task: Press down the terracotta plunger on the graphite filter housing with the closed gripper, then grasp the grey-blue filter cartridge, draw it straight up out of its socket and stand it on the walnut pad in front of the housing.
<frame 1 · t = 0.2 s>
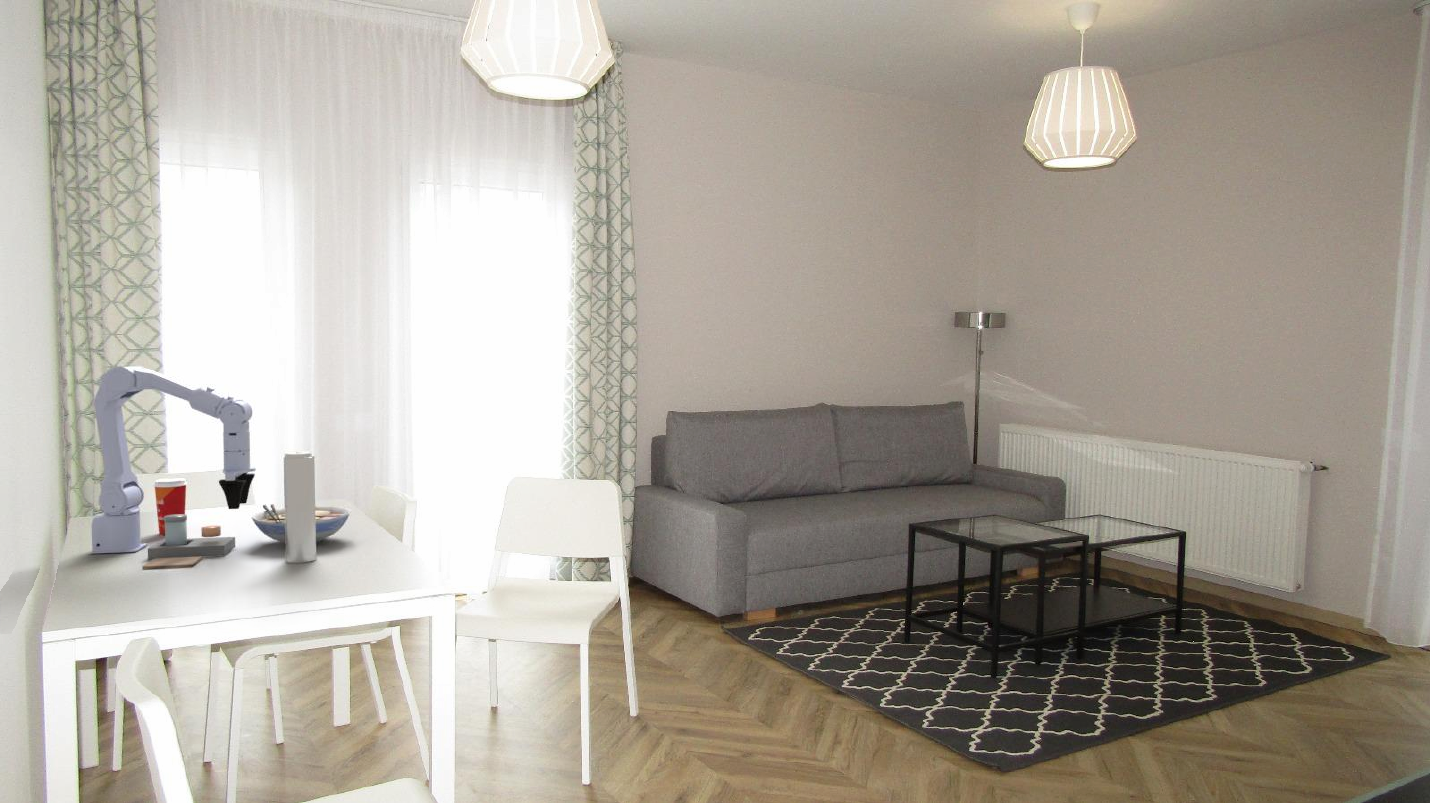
hand: (237, 506, 227), 10 cm above the table, fingers open, 7 cm apart
filter cartridge: (176, 553, 220), resting in filter housing
walnut pad: (173, 563, 210), on the table
air filter: (301, 560, 214), on the table
plunger: (211, 531, 221), point 5 cm above the table, slide at 0.0 cm
filter housing: (193, 552, 220), on the table
ramen bowl: (303, 543, 233), on the table
paper cup: (171, 533, 243), on the table
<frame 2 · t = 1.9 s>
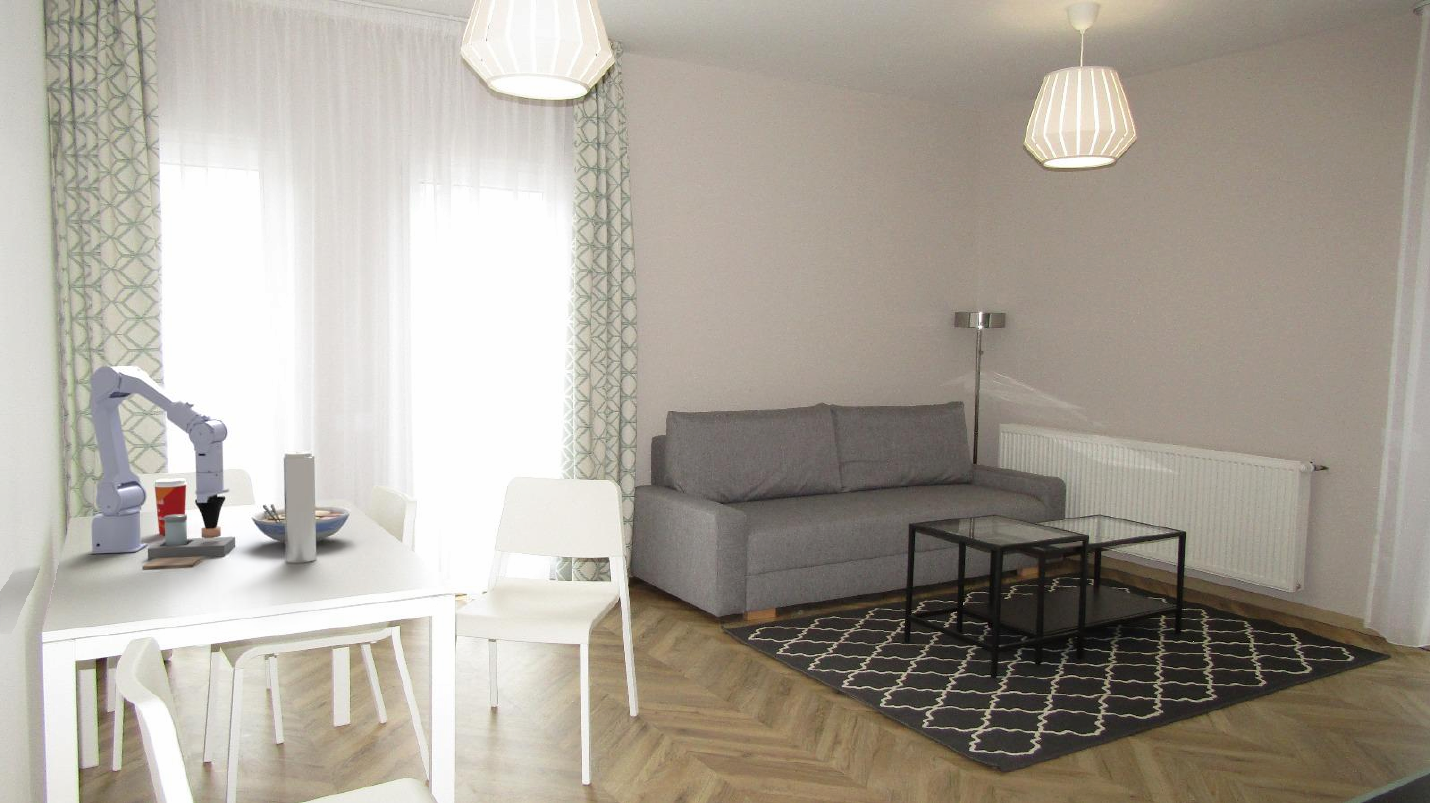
hand: (211, 528, 221), 6 cm above the table, fingers closed, pressing on plunger
plunger: (211, 531, 221), point 5 cm above the table, slide at 0.2 cm, touching gripper
everything else where it was.
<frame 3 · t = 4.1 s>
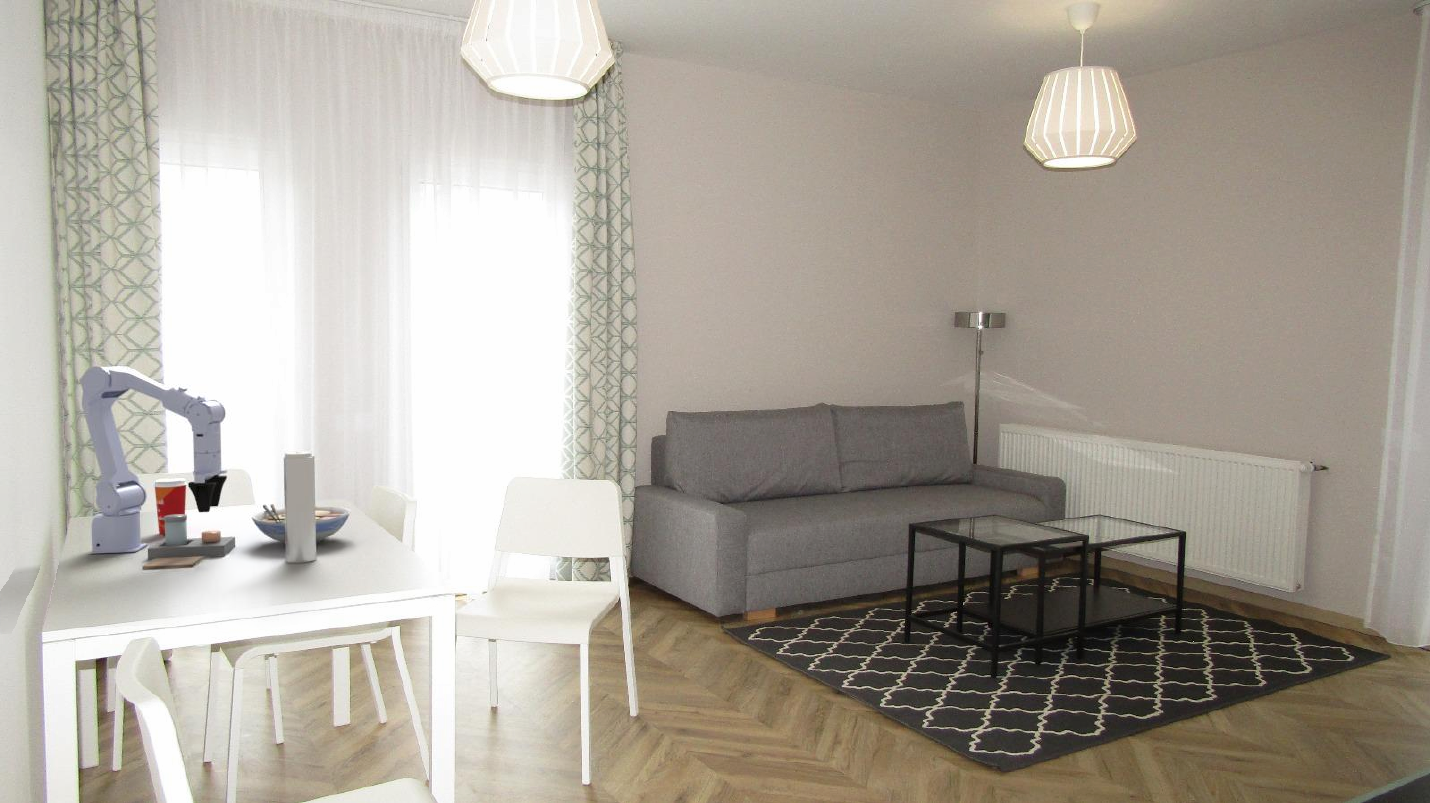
hand: (208, 509, 221), 10 cm above the table, fingers open, 7 cm apart
plunger: (211, 536, 221), point 4 cm above the table, slide at 1.2 cm
everything else where it was.
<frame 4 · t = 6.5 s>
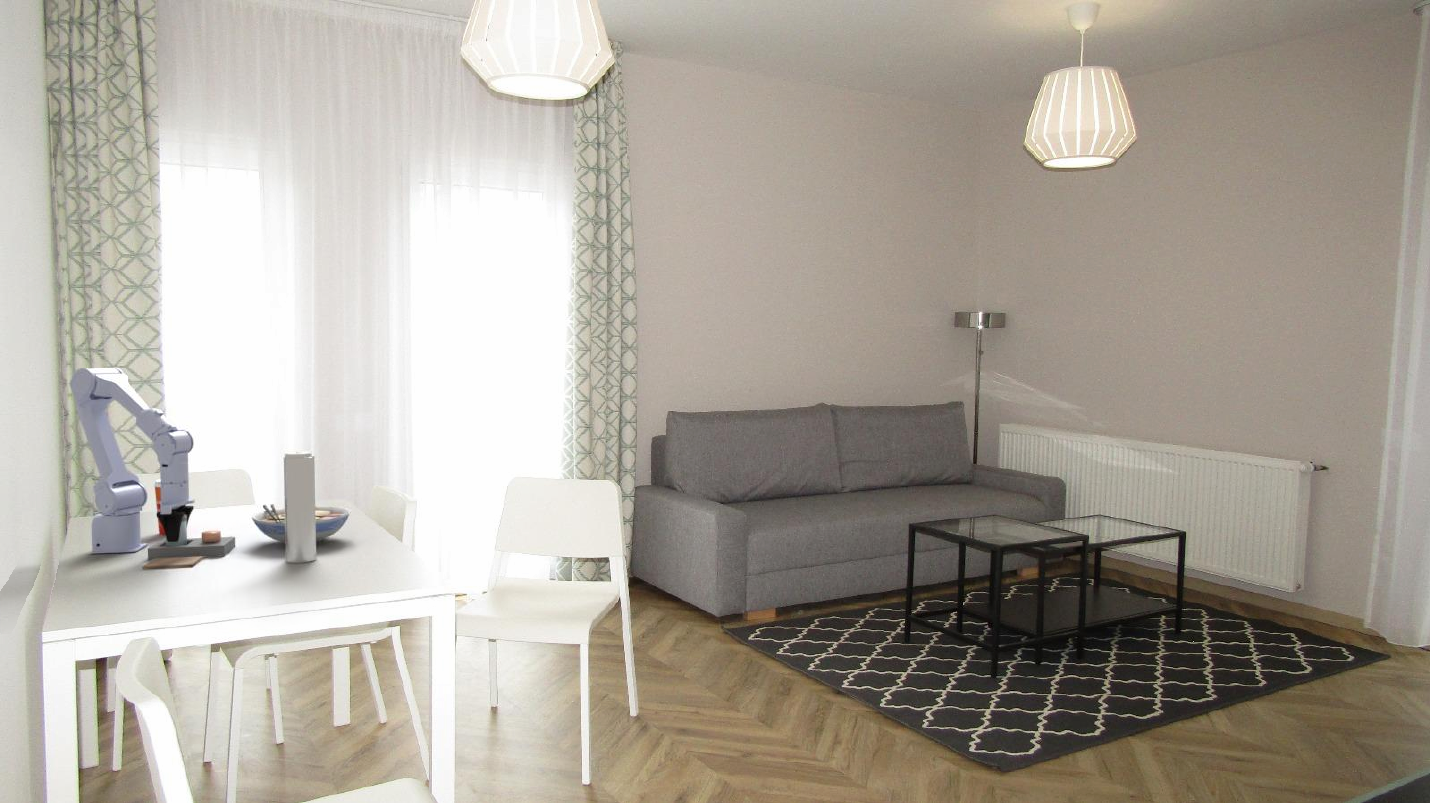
hand: (176, 539, 219), 3 cm above the table, fingers closed on filter cartridge, 4 cm apart
filter cartridge: (176, 553, 220), resting in filter housing, touching gripper
everything else where it was.
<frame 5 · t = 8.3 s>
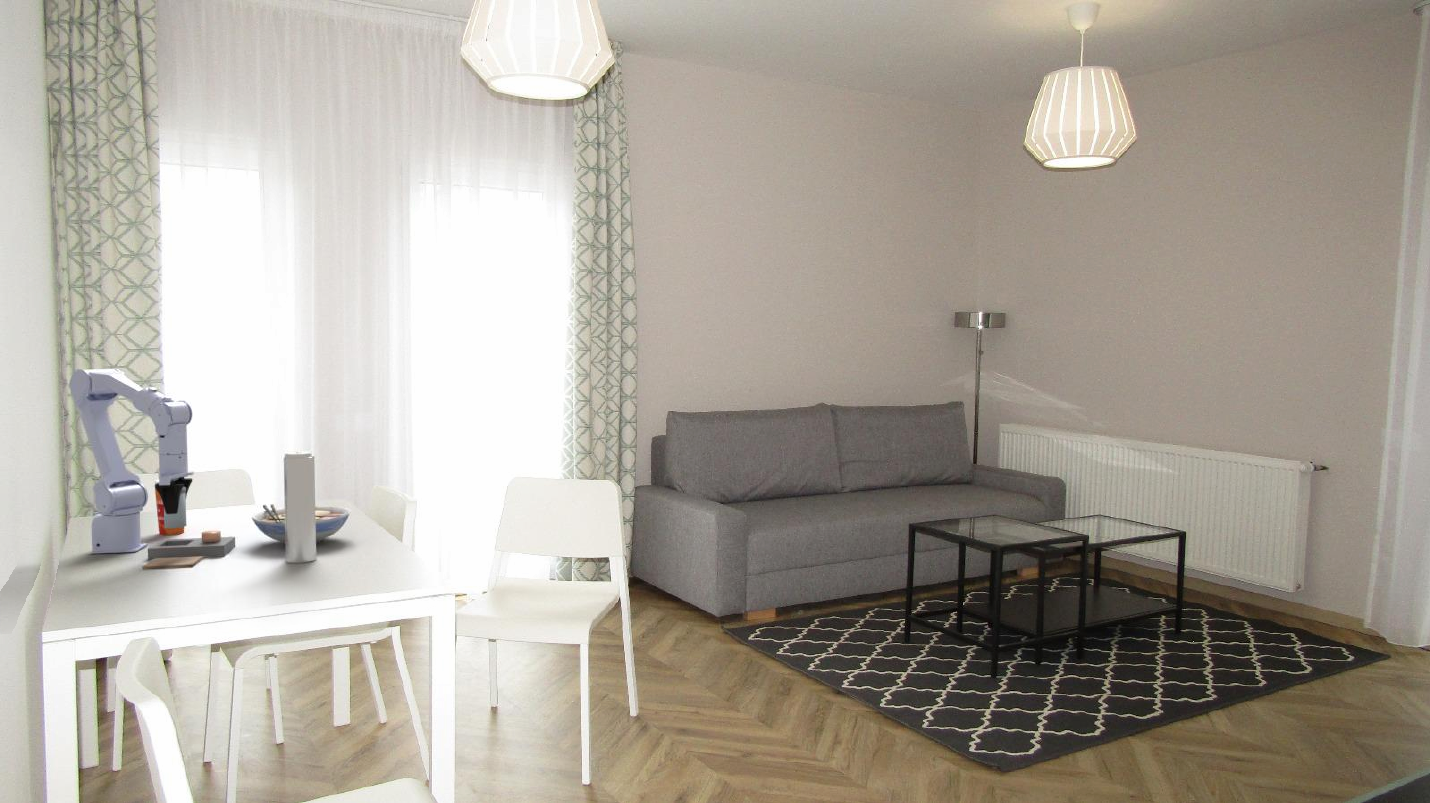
hand: (175, 511, 216), 10 cm above the table, fingers closed on filter cartridge, 4 cm apart
filter cartridge: (175, 526, 216), point 7 cm above the table, touching gripper
everything else where it was.
when the fingers open (5 cm above the table, at t = 10.6 s): filter cartridge stays where it is, resting on walnut pad.
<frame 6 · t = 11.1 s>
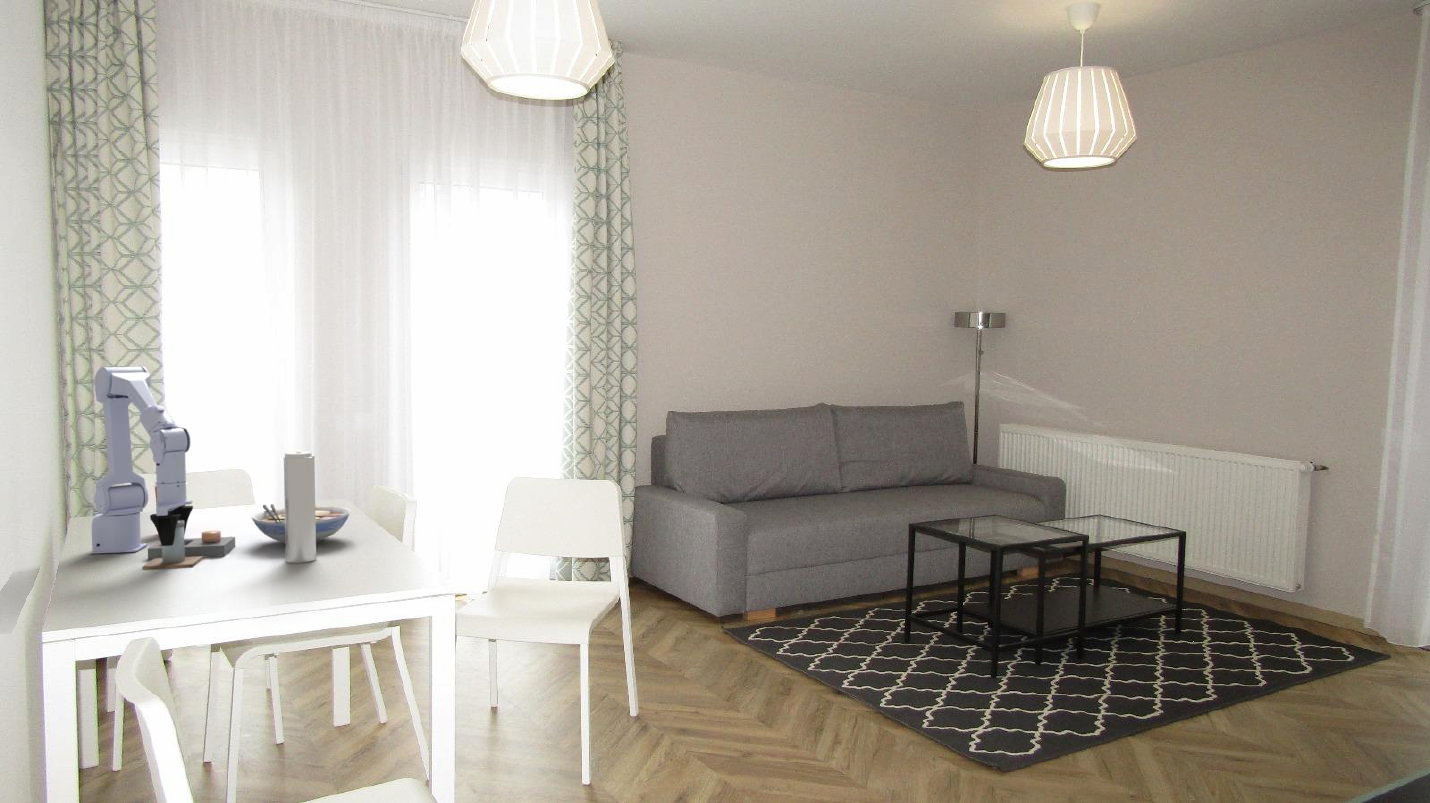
hand: (172, 541, 209), 5 cm above the table, fingers open, 7 cm apart
filter cartridge: (173, 561, 210), point 1 cm above the table, touching walnut pad
everything else where it was.
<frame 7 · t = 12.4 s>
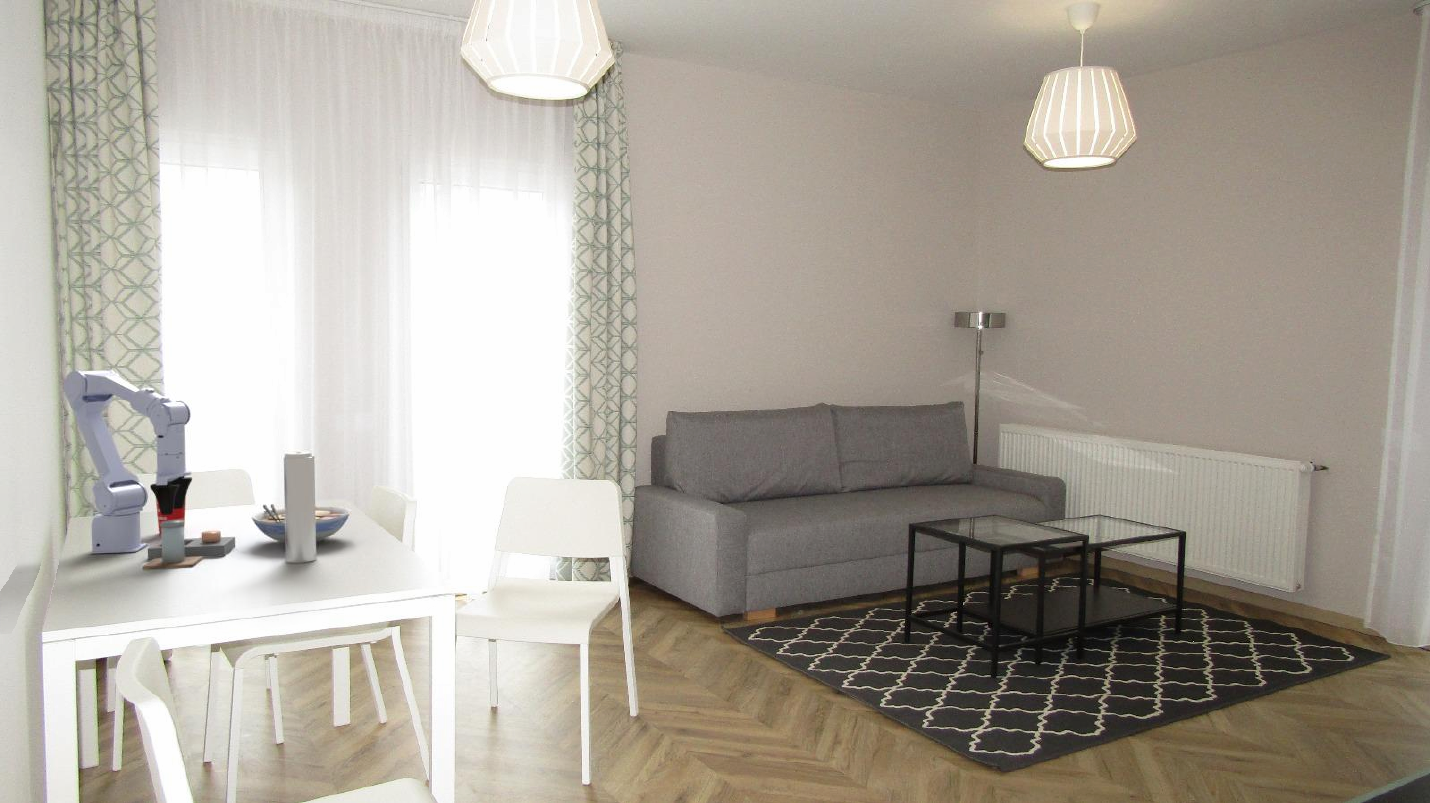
hand: (172, 511, 217), 10 cm above the table, fingers open, 7 cm apart
nothing on the table moved.
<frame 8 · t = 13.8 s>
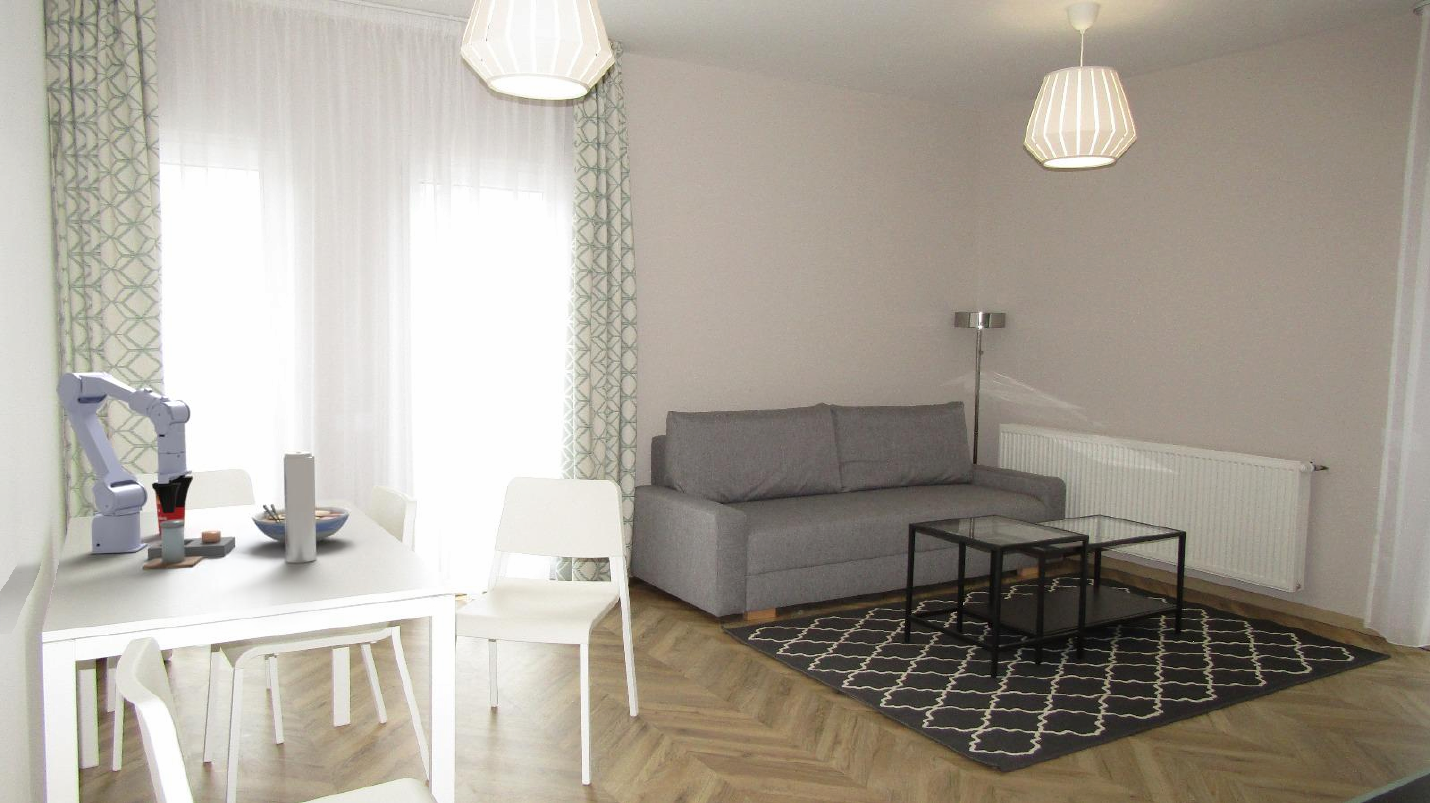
hand: (174, 510, 219), 10 cm above the table, fingers open, 7 cm apart
nothing on the table moved.
at the end: plunger slide at 1.2 cm; filter cartridge inside the target area on the walnut pad (0.0 cm from its centre), point 0.6 cm above the walnut pad's base; filter cartridge tilted 1° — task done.
